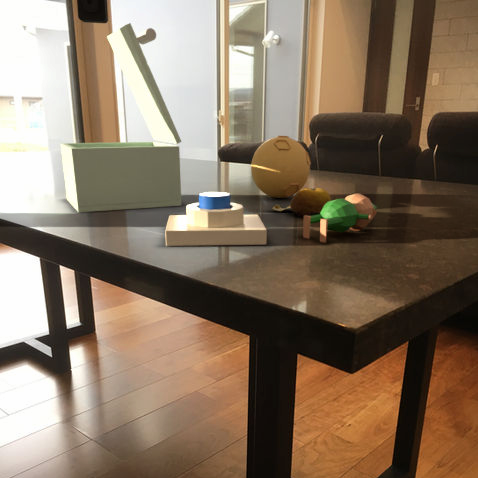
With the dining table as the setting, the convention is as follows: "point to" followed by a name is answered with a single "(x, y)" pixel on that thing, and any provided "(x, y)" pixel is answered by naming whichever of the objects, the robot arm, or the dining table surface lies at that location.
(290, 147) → the stress ball
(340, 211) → the figurine
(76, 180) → the compartment
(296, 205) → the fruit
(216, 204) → the button
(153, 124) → the lid
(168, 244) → the control block
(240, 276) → the dining table surface
